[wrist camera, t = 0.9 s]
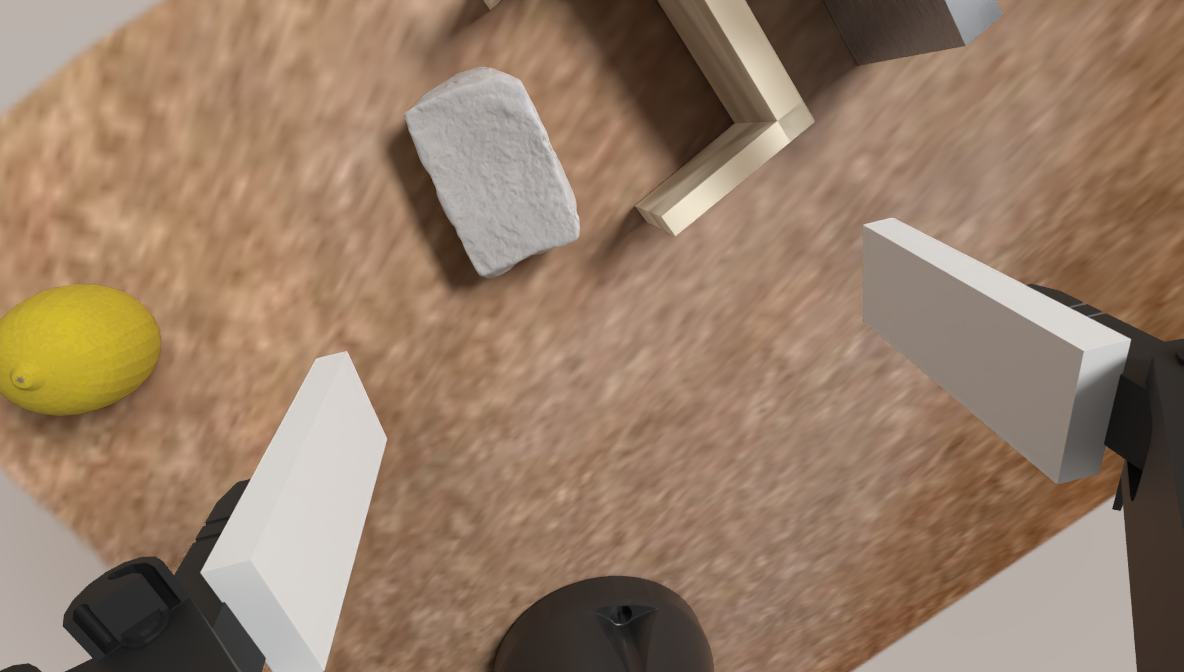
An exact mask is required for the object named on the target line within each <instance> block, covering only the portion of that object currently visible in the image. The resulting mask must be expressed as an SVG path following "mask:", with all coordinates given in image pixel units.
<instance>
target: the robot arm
mask: <svg viewBox="0 0 1184 672" xmlns="http://www.w3.org/2000/svg"><path fill="white" fill-rule="evenodd" d="M863 322H864V323H866V324H867V325H868V326H869V327H870V328H872V329H873V330H874V331H875V332H876V333H877V334H879V335H880V336H881V337H882V338H883V339H885V340H886V341H887V342H888V343H889V344H891V345H892V346H893V347H894V348H895V349H897V350H898V351H899V352H900V353H901V354H902V355H904V356H905V357H906V358H907V359H908V360H910V361H911V362H912V363H913V364H914V365H916V366H917V367H918V368H919V369H920V370H922V371H923V372H924V373H925V374H926V375H928V376H929V377H930V378H931V379H932V380H933V381H935V382H936V383H937V384H938V385H939V386H941V387H942V388H943V389H944V390H945V391H947V392H948V393H949V394H950V395H951V396H953V397H954V398H955V399H956V400H957V401H958V402H960V403H961V404H962V405H963V406H964V407H966V408H967V409H968V410H969V411H970V412H972V413H973V414H974V415H975V416H976V417H978V418H979V419H980V420H981V421H982V422H983V423H985V424H986V425H987V426H988V427H989V428H991V429H992V430H993V431H994V432H995V433H997V434H998V435H999V436H1000V437H1001V438H1003V439H1004V440H1005V441H1006V442H1007V443H1009V444H1010V445H1011V446H1012V447H1013V448H1014V449H1016V450H1017V451H1018V452H1019V453H1020V454H1022V455H1023V456H1024V457H1025V458H1026V459H1028V460H1029V461H1030V462H1031V463H1032V464H1034V465H1035V466H1036V467H1037V468H1038V469H1039V470H1041V471H1042V472H1043V473H1044V474H1045V475H1047V476H1048V477H1049V478H1050V479H1051V480H1053V481H1054V482H1055V483H1056V484H1061V483H1065V482H1069V481H1073V480H1076V479H1080V478H1084V477H1088V476H1092V475H1096V474H1099V471H1100V467H1101V463H1102V459H1103V455H1104V451H1105V446H1107V447H1109V448H1110V449H1111V450H1113V451H1114V452H1116V453H1117V454H1118V455H1120V456H1121V457H1123V458H1124V459H1125V463H1124V466H1123V470H1122V474H1121V478H1120V482H1119V485H1118V489H1117V493H1116V497H1115V501H1114V505H1113V508H1112V509H1114V510H1119V511H1120V510H1121V508H1122V506H1123V508H1124V520H1125V532H1126V544H1127V556H1128V567H1129V580H1130V592H1131V604H1132V616H1133V628H1134V640H1135V651H1136V664H1137V672H1184V339H1178V340H1173V341H1167V342H1164V341H1162V340H1159V339H1157V338H1155V337H1153V336H1151V335H1149V334H1147V333H1145V332H1143V331H1141V330H1139V329H1137V328H1135V327H1133V326H1131V325H1129V324H1127V323H1125V322H1123V321H1121V320H1119V319H1117V318H1114V317H1112V316H1110V315H1108V314H1102V311H1100V310H1098V309H1096V308H1094V307H1092V306H1090V305H1088V304H1087V305H1084V304H1083V302H1082V301H1080V300H1078V299H1076V298H1074V297H1072V296H1070V295H1067V294H1065V293H1063V292H1061V291H1058V290H1054V289H1050V288H1046V287H1042V286H1038V285H1034V284H1028V285H1024V284H1022V283H1020V282H1018V281H1016V280H1014V279H1012V278H1010V277H1008V276H1006V275H1004V274H1002V273H1000V272H998V271H997V270H995V269H993V268H991V267H989V266H987V265H985V264H983V263H981V262H979V261H977V260H975V259H973V258H971V257H969V256H967V255H965V254H963V253H961V252H959V251H957V250H955V249H953V248H951V247H950V246H948V245H946V244H944V243H942V242H940V241H938V240H936V239H934V238H932V237H930V236H928V235H926V234H924V233H922V232H920V231H918V230H916V229H914V228H912V227H910V226H908V225H906V224H904V223H903V222H901V221H899V220H897V219H895V218H889V219H885V220H880V221H876V222H872V223H868V224H864V225H863ZM386 441H387V438H386V435H385V433H384V431H383V429H382V427H381V425H380V422H379V420H378V418H377V416H376V414H375V411H374V409H373V407H372V405H371V403H370V400H369V398H368V396H367V394H366V392H365V390H364V387H363V385H362V383H361V381H360V379H359V376H358V374H357V372H356V370H355V368H354V365H353V363H352V361H351V359H350V357H349V354H348V352H347V351H345V352H341V353H337V354H333V355H329V356H325V357H320V358H316V360H315V362H314V364H313V365H312V367H311V369H310V371H309V373H308V375H307V377H306V378H305V380H304V382H303V384H302V386H301V388H300V389H299V391H298V393H297V395H296V397H295V399H294V401H293V402H292V404H291V406H290V408H289V410H288V412H287V413H286V415H285V417H284V419H283V421H282V423H281V424H280V426H279V428H278V430H277V432H276V434H275V436H274V437H273V439H272V441H271V443H270V445H269V447H268V448H267V450H266V452H265V454H264V456H263V458H262V460H261V461H260V463H259V465H258V467H257V469H256V471H255V472H254V474H253V476H252V478H251V479H248V480H244V481H240V482H237V483H236V484H235V485H234V486H233V487H232V488H231V489H230V490H229V491H228V492H227V493H226V494H225V495H224V496H223V497H222V498H221V499H220V500H219V501H218V502H217V503H216V505H215V507H214V508H213V510H212V512H211V513H210V515H209V517H208V519H207V520H206V522H205V523H206V526H203V527H202V529H201V531H200V532H199V534H198V536H197V537H196V543H193V544H192V546H191V548H190V549H189V551H188V553H187V554H186V556H185V558H184V560H183V561H182V563H181V565H180V566H179V568H178V570H177V572H176V573H175V575H173V574H172V573H171V571H170V570H169V569H168V567H167V566H166V565H165V563H164V562H163V561H162V560H160V559H158V558H157V557H140V558H137V559H134V560H131V561H128V562H124V563H122V564H121V565H119V566H117V567H115V568H113V569H111V570H109V571H107V572H105V573H104V574H103V575H102V576H100V577H99V578H98V579H96V580H95V581H93V582H92V583H90V584H89V585H88V586H87V587H86V588H85V589H84V590H83V591H82V592H81V593H80V594H79V595H78V596H77V597H76V598H75V599H74V600H73V601H72V603H71V604H70V606H69V608H68V609H67V611H66V612H65V614H64V619H63V627H64V628H65V629H66V630H67V631H68V632H69V633H70V634H71V635H72V636H73V638H75V640H76V641H77V642H78V643H79V644H80V645H81V646H82V647H83V648H84V649H85V650H86V651H87V652H88V653H89V655H90V656H91V657H92V659H90V660H88V661H86V662H84V663H82V664H80V665H78V666H76V667H74V668H72V669H70V670H68V671H65V672H261V671H262V669H263V666H264V663H265V662H266V663H267V664H268V666H269V667H270V669H271V670H272V671H273V672H323V671H325V667H326V663H327V660H328V656H329V652H330V649H331V645H332V641H333V637H334V634H335V630H336V626H337V623H338V619H339V615H340V612H341V608H342V604H343V600H344V597H345V593H346V589H347V586H348V582H349V578H350V575H351V571H352V567H353V563H354V560H355V556H356V552H357V549H358V545H359V541H360V538H361V534H362V530H363V526H364V523H365V519H366V515H367V512H368V508H369V504H370V501H371V497H372V493H373V490H374V486H375V482H376V478H377V475H378V471H379V467H380V464H381V460H382V456H383V453H384V449H385V445H386ZM0 672H41V671H40V670H39V669H38V668H37V667H35V666H33V665H31V664H20V665H13V666H11V667H8V668H6V669H3V670H1V671H0ZM493 672H714V663H713V657H712V653H711V649H710V646H709V643H708V640H707V638H706V636H705V634H704V632H703V630H702V627H701V625H700V623H699V621H698V619H697V617H696V615H695V613H694V612H693V610H692V609H691V607H690V606H689V605H688V604H687V603H686V602H685V601H684V600H683V599H682V598H681V597H680V596H679V595H678V594H676V593H675V592H673V591H672V590H670V589H668V588H667V587H665V586H663V585H660V584H658V583H655V582H653V581H649V580H646V579H641V578H636V577H627V576H609V577H600V578H594V579H589V580H585V581H581V582H578V583H575V584H572V585H569V586H567V587H564V588H562V589H560V590H558V591H556V592H554V593H552V594H550V595H549V596H547V597H545V598H544V599H542V600H541V601H539V602H538V603H536V604H535V605H534V606H532V607H531V608H530V609H529V610H528V611H527V612H525V613H524V614H523V615H522V616H521V617H520V618H519V619H518V621H517V622H516V623H515V624H514V625H513V627H512V628H511V629H510V630H509V632H508V633H507V635H506V636H505V638H504V640H503V642H502V644H501V646H500V648H499V650H498V653H497V656H496V659H495V663H494V668H493Z"/></svg>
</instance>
